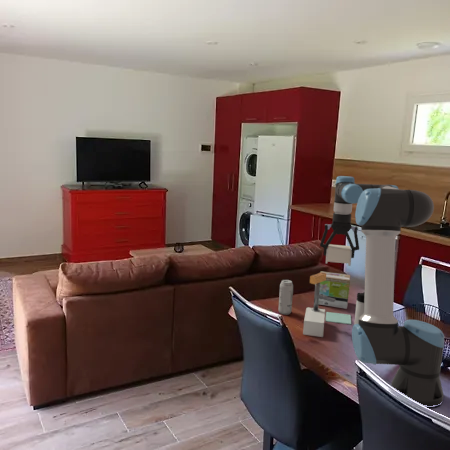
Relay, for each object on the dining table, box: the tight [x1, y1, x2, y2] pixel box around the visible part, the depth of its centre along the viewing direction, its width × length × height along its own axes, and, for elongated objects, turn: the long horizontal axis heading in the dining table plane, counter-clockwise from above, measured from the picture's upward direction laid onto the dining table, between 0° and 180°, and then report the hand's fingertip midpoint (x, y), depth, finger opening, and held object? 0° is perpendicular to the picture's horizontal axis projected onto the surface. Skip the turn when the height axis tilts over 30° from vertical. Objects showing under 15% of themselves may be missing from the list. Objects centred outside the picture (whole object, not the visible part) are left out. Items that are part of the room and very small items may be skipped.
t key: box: [309, 272, 335, 311], centre depth 191 cm, size 10×9×16 cm
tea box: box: [318, 271, 351, 310], centre depth 220 cm, size 15×10×15 cm, turn 73°
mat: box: [325, 311, 352, 325], centre depth 202 cm, size 11×11×1 cm
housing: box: [302, 306, 326, 338], centre depth 190 cm, size 16×8×6 cm, turn 166°
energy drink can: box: [278, 279, 294, 316], centre depth 206 cm, size 6×6×15 cm
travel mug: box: [353, 291, 365, 325], centre depth 179 cm, size 6×7×20 cm
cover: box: [327, 243, 352, 264], centre depth 194 cm, size 7×9×6 cm
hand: (337, 263), depth 195 cm, fingers closed on cover, 9 cm apart
